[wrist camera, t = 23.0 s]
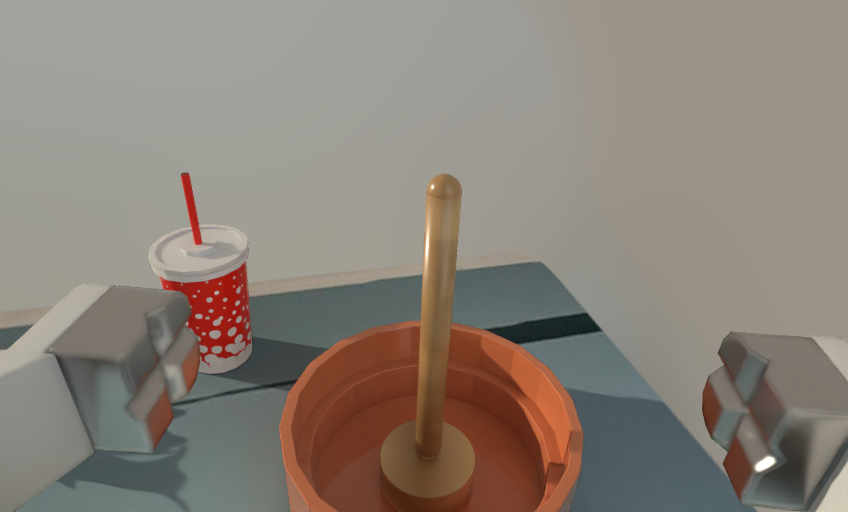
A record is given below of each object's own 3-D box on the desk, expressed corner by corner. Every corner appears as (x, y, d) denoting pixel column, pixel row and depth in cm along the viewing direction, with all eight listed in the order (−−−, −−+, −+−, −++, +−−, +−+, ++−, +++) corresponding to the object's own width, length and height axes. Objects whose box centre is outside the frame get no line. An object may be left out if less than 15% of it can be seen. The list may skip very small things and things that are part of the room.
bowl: (535, 392, 39) (548, 323, 36) (595, 633, 26) (624, 558, 23) (314, 387, 38) (308, 317, 35) (261, 630, 25) (244, 554, 22)
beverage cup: (269, 369, 40) (244, 187, 32) (176, 391, 37) (127, 202, 30) (256, 319, 44) (232, 151, 37) (173, 335, 42) (130, 161, 35)
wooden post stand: (468, 442, 34) (502, 153, 24) (476, 522, 29) (522, 206, 20) (382, 441, 34) (381, 149, 24) (377, 521, 29) (374, 202, 20)
